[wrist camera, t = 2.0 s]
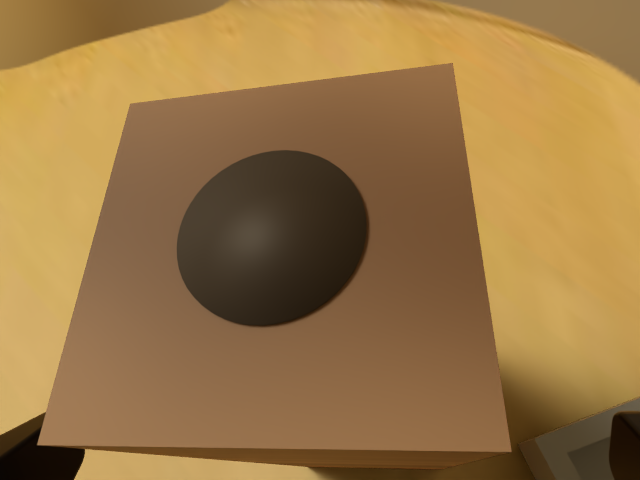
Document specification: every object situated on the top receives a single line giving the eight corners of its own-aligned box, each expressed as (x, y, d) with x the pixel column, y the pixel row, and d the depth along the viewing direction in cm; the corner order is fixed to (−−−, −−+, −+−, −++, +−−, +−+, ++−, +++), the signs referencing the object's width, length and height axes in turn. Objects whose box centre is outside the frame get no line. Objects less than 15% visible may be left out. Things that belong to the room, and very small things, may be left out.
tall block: (440, 469, 15) (513, 451, 4) (306, 466, 16) (33, 445, 5) (428, 335, 17) (452, 60, 6) (310, 338, 18) (128, 101, 7)
